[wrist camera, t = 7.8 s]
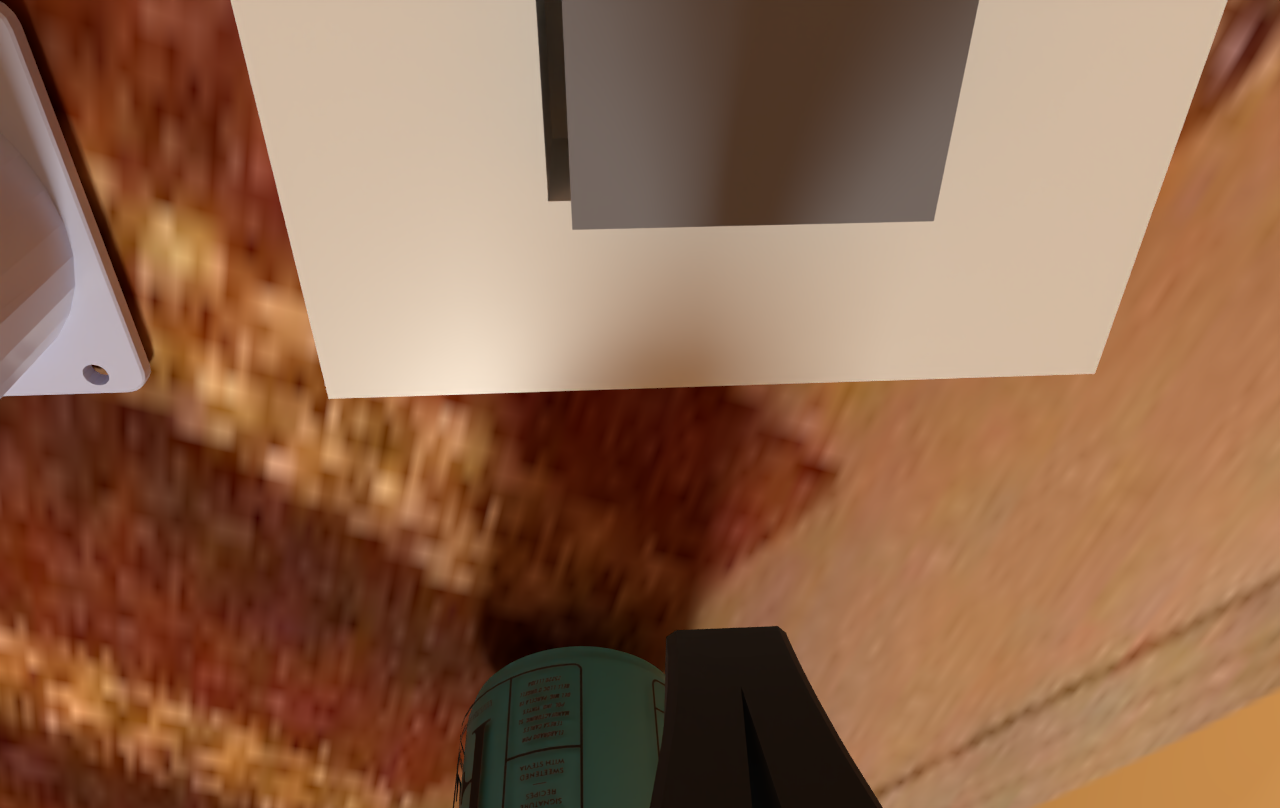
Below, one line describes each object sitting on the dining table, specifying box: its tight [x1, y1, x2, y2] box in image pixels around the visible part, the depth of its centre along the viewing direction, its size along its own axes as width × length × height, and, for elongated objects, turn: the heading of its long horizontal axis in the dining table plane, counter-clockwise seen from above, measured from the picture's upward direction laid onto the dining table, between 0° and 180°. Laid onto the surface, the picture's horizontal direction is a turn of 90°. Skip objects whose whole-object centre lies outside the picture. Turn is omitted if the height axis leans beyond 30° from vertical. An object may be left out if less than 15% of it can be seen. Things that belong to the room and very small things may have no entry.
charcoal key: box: [562, 0, 979, 230], centre depth 12 cm, size 5×5×3 cm
